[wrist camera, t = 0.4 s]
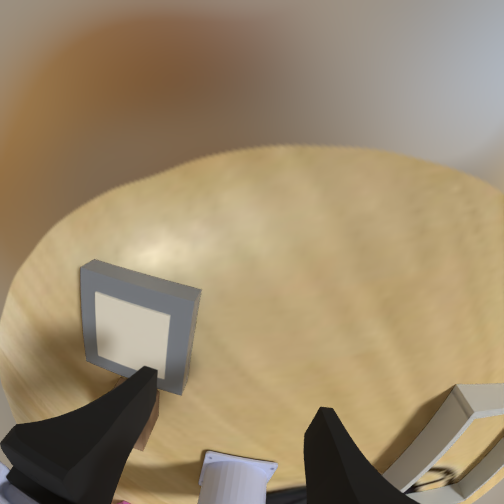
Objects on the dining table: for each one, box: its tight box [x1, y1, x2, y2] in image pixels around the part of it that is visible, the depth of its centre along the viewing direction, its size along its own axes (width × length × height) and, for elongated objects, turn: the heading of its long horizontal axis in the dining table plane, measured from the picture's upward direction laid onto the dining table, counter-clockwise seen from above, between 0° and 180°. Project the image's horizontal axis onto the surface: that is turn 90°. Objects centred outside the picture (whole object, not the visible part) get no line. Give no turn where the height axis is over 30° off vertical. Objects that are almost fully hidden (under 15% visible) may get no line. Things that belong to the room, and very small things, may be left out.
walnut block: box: [113, 377, 159, 451], centre depth 22 cm, size 4×4×5 cm
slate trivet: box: [80, 259, 201, 396], centre depth 21 cm, size 9×9×2 cm
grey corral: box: [382, 383, 504, 504], centre depth 23 cm, size 26×24×4 cm
